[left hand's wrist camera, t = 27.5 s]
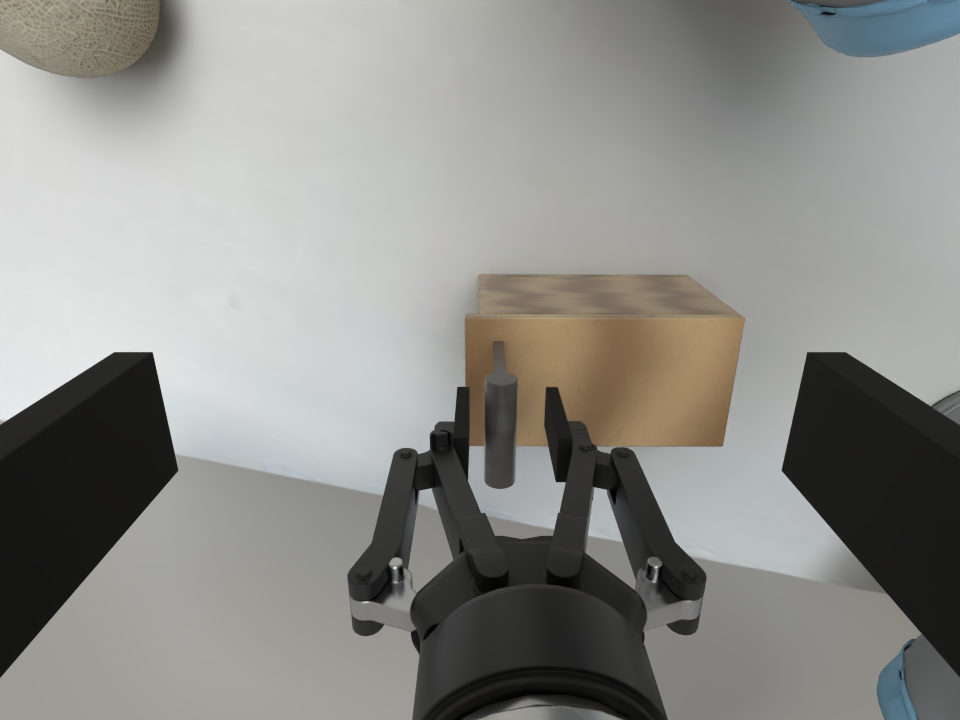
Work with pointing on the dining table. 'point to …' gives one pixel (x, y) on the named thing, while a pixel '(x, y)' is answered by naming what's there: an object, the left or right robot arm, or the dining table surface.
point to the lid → (598, 379)
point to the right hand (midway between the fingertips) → (507, 406)
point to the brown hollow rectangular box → (596, 295)
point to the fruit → (78, 34)
